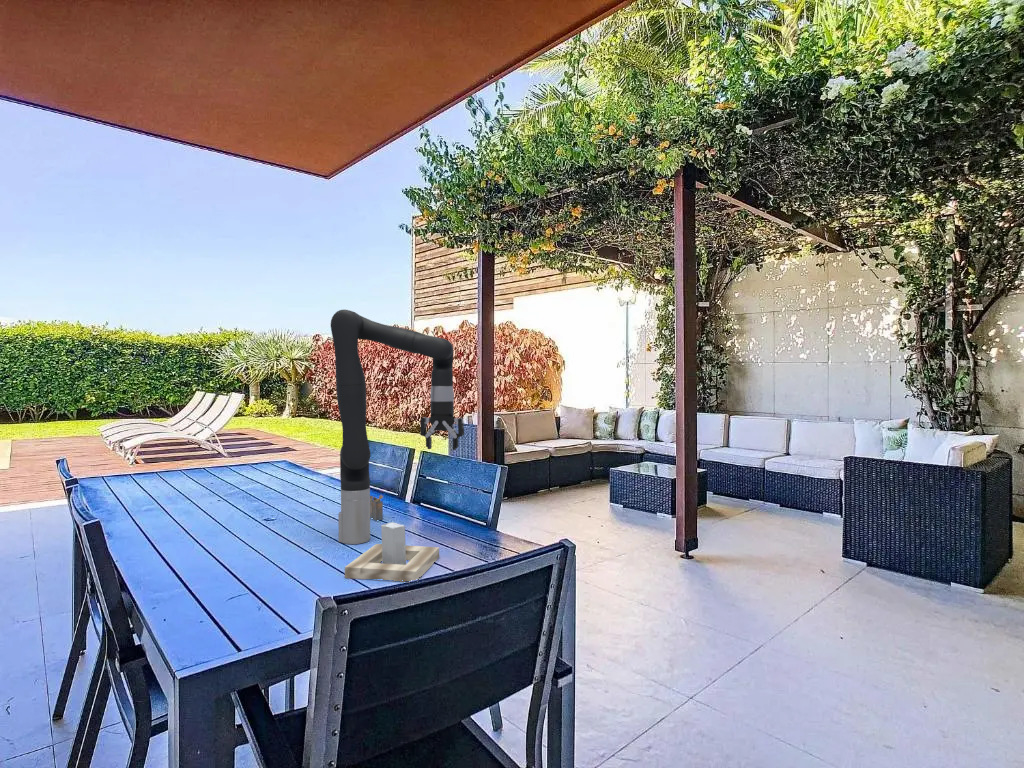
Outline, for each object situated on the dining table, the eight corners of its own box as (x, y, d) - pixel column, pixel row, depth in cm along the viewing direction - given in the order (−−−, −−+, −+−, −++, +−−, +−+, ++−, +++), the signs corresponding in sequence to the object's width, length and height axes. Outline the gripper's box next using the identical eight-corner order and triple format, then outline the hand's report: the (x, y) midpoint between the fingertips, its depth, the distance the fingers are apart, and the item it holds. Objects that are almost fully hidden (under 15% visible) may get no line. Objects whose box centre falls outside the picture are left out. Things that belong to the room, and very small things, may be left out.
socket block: (344, 578, 155) (344, 567, 155) (376, 553, 176) (376, 543, 176) (415, 582, 152) (415, 571, 152) (439, 557, 172) (439, 547, 172)
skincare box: (406, 567, 163) (406, 525, 163) (393, 571, 160) (393, 528, 160) (393, 562, 168) (393, 521, 167) (380, 566, 164) (380, 524, 164)
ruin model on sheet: (383, 521, 214) (383, 495, 214) (375, 522, 213) (375, 496, 212) (373, 515, 224) (373, 490, 224) (366, 516, 222) (365, 491, 222)
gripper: (417, 400, 186) (417, 450, 186) (460, 400, 183) (460, 451, 184) (424, 399, 193) (424, 447, 193) (466, 399, 191) (466, 448, 191)
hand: (442, 449), depth 189 cm, fingers open, 8 cm apart
